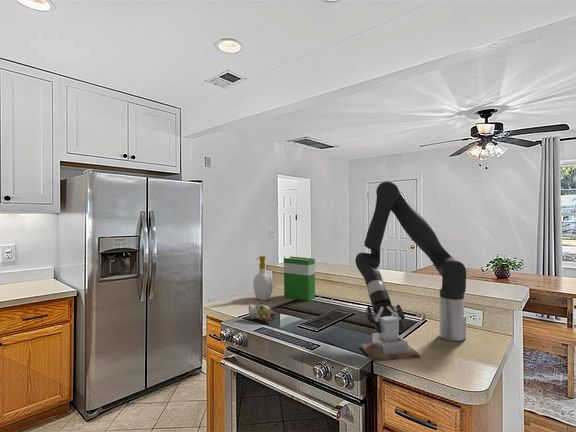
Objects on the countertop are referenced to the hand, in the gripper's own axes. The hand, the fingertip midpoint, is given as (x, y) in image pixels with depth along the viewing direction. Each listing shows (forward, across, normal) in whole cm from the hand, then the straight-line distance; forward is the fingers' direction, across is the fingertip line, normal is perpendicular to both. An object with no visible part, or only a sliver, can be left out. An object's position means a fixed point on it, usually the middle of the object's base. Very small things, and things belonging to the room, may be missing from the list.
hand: (390, 331), depth 132 cm
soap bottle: (-54, -42, +66) cm, 96 cm away
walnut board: (+5, 0, +7) cm, 9 cm away
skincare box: (+4, 0, +6) cm, 7 cm away
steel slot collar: (+4, 0, +6) cm, 7 cm away
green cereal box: (-54, -19, +66) cm, 87 cm away
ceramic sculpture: (-28, -45, +40) cm, 66 cm away
